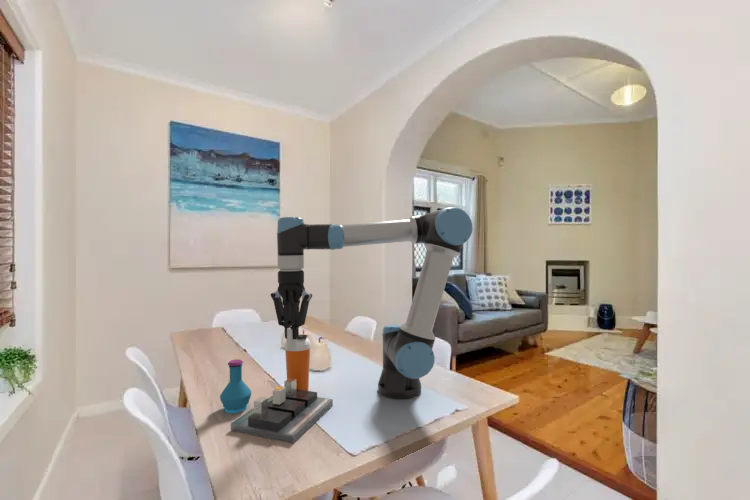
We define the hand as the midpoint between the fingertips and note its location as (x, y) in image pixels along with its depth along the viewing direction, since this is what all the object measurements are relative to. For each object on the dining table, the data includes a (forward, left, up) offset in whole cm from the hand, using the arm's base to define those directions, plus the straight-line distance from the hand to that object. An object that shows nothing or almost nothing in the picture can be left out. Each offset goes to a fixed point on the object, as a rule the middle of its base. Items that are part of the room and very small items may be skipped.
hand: (291, 349), depth 106 cm
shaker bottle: (+8, -17, -21) cm, 28 cm away
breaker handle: (+4, 0, -16) cm, 17 cm away
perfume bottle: (+20, 0, -21) cm, 29 cm away
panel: (+2, 0, -21) cm, 21 cm away
